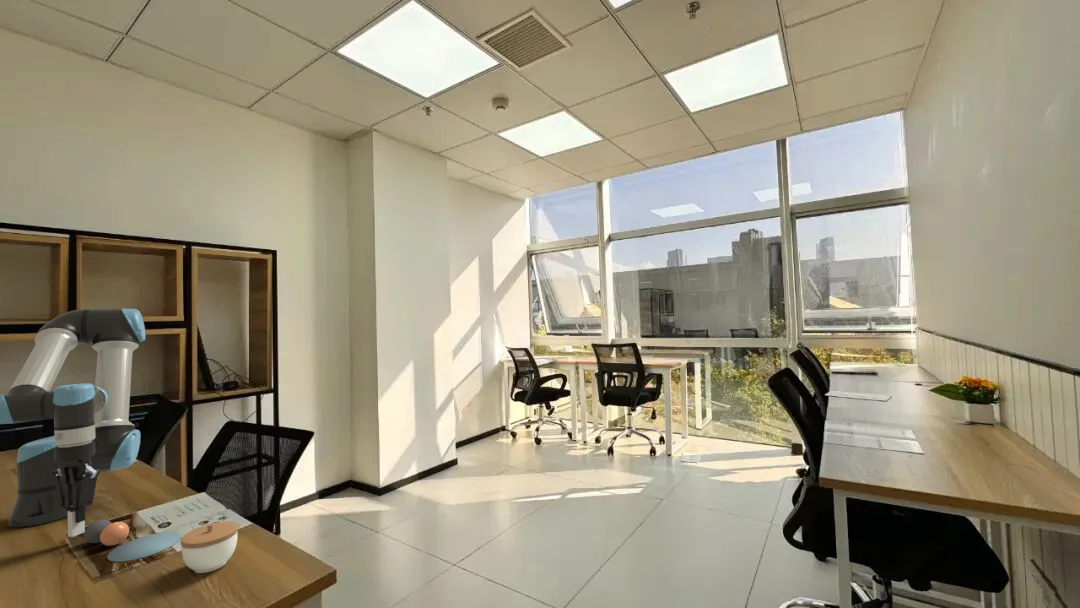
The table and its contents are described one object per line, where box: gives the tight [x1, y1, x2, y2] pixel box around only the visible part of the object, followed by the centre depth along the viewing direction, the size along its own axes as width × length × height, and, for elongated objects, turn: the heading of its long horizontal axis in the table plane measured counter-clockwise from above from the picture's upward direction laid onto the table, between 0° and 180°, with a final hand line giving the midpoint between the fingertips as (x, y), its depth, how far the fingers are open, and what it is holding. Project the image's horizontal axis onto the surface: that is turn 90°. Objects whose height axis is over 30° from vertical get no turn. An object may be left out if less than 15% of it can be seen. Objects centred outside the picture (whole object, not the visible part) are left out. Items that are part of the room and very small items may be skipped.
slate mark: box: [106, 531, 182, 563], centre depth 114 cm, size 14×14×1 cm
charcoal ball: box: [83, 519, 112, 544], centre depth 118 cm, size 6×6×6 cm
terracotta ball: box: [100, 521, 130, 547], centre depth 116 cm, size 6×6×6 cm
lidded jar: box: [180, 521, 239, 574], centre depth 104 cm, size 11×11×9 cm
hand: (76, 534), depth 118 cm, fingers closed
